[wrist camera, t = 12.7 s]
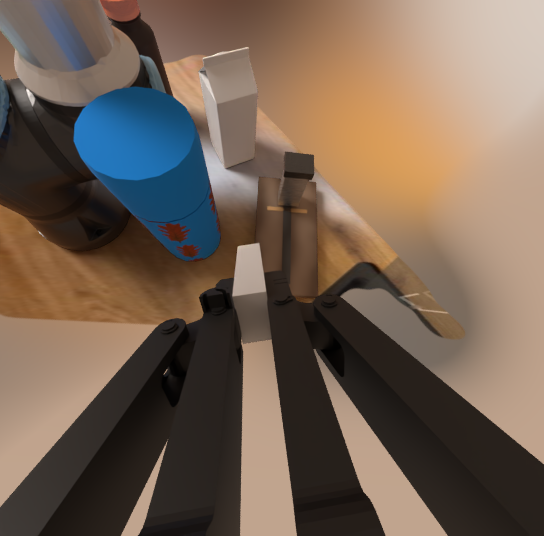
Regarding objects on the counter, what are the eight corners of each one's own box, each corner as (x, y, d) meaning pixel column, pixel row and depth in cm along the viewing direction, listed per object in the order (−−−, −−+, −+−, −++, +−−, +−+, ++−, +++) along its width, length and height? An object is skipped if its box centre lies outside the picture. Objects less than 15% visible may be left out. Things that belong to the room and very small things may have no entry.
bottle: (185, 119, 52) (149, -4, 33) (158, 133, 50) (105, 12, 31) (167, 99, 53) (123, -32, 34) (140, 112, 51) (78, -18, 32)
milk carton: (254, 158, 51) (259, 64, 33) (224, 169, 50) (213, 76, 32) (240, 134, 53) (238, 30, 35) (211, 143, 51) (192, 40, 33)
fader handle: (276, 206, 46) (284, 171, 36) (276, 190, 47) (285, 151, 37) (299, 208, 46) (314, 174, 36) (299, 192, 47) (313, 155, 37)
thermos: (224, 259, 45) (200, 178, 21) (166, 265, 43) (68, 186, 19) (218, 208, 47) (192, 84, 23) (163, 213, 46) (74, 84, 22)
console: (252, 294, 44) (252, 292, 41) (258, 184, 50) (258, 176, 47) (314, 298, 45) (318, 296, 42) (312, 189, 51) (316, 182, 49)
